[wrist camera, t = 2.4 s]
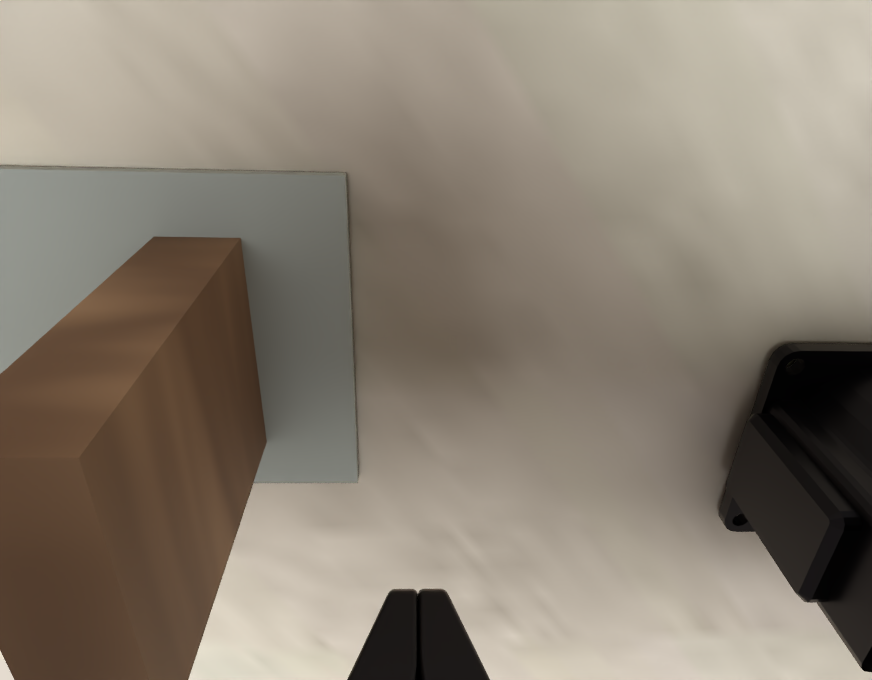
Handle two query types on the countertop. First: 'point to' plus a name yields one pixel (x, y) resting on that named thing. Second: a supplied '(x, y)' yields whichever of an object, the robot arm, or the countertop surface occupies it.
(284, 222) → the rubber mat
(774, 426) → the robot arm
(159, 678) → the walnut tile
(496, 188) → the countertop surface
